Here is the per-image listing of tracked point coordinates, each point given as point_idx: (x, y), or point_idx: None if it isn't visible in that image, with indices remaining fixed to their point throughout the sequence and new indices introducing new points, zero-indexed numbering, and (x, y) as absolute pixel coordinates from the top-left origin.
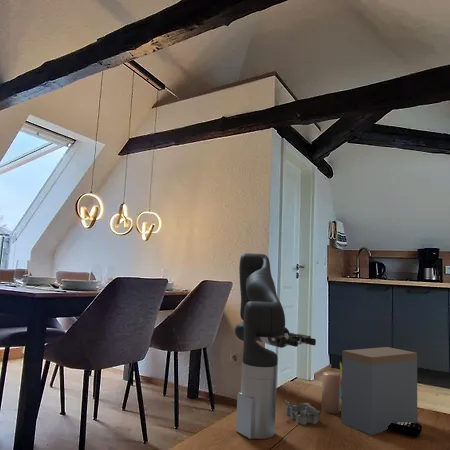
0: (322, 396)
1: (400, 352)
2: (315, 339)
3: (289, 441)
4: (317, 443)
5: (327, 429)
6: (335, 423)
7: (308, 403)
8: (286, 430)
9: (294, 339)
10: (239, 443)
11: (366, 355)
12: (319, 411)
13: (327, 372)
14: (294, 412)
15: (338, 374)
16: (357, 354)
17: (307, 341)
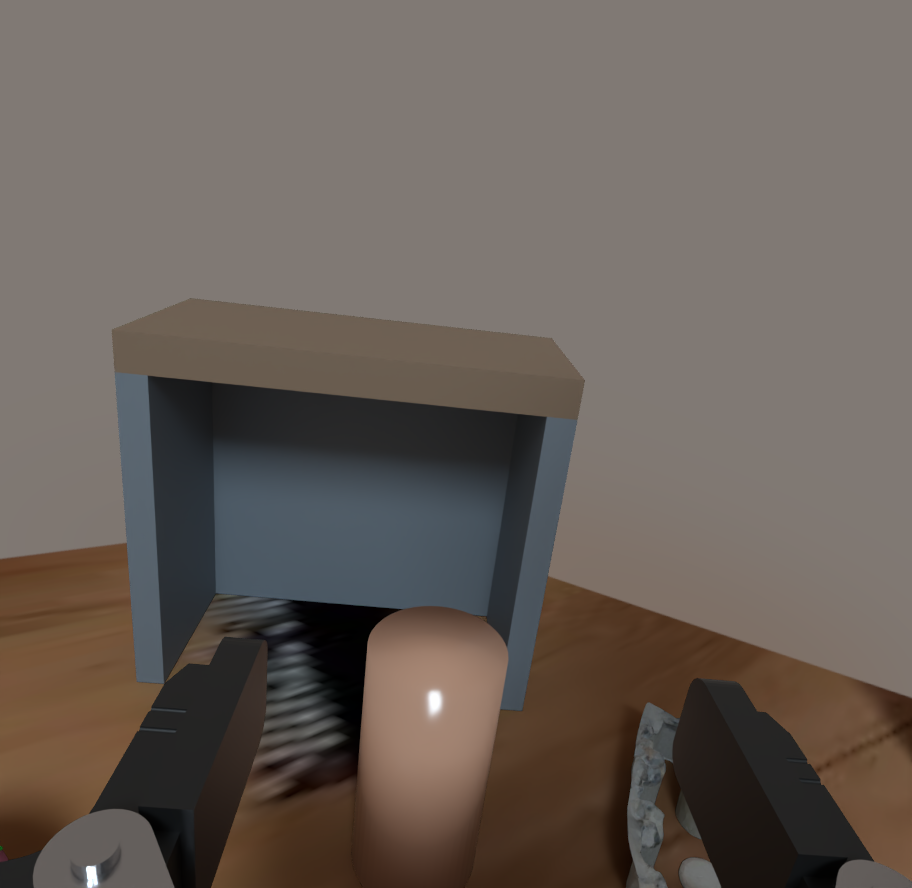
0: (478, 811)
1: (272, 314)
2: (227, 638)
3: (868, 703)
4: (757, 655)
5: (643, 699)
6: (555, 719)
7: (629, 831)
8: (855, 771)
9: (746, 723)
10: None
11: (545, 345)
12: (643, 718)
13: (431, 680)
14: None
15: (401, 621)
16: (565, 357)
17: (208, 850)
